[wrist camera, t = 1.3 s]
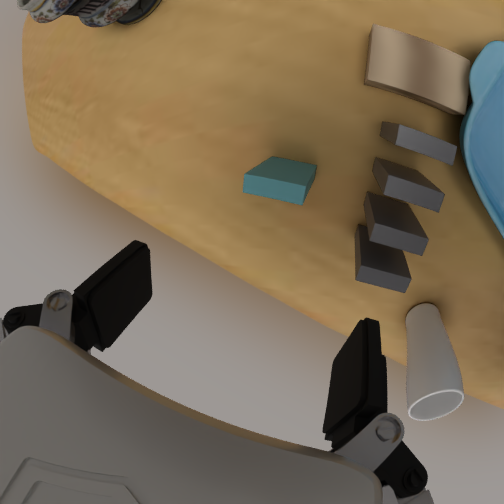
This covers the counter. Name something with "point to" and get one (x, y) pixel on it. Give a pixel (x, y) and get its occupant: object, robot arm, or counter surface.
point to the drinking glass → (430, 366)
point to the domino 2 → (407, 184)
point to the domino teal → (280, 180)
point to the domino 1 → (419, 142)
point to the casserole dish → (486, 130)
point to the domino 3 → (394, 224)
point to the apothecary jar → (90, 10)
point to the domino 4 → (380, 263)
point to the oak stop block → (417, 70)
